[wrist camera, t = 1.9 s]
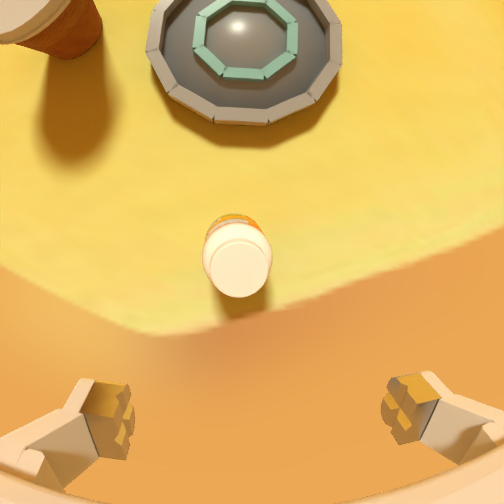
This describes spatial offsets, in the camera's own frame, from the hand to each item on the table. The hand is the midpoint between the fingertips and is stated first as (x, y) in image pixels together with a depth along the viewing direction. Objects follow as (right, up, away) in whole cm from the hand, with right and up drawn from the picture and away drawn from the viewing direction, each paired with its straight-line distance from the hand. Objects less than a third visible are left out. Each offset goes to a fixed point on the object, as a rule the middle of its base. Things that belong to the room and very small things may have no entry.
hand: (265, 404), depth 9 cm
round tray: (-1, +25, +17) cm, 31 cm away
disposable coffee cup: (-19, +27, +15) cm, 37 cm away
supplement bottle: (-2, +6, +23) cm, 23 cm away
